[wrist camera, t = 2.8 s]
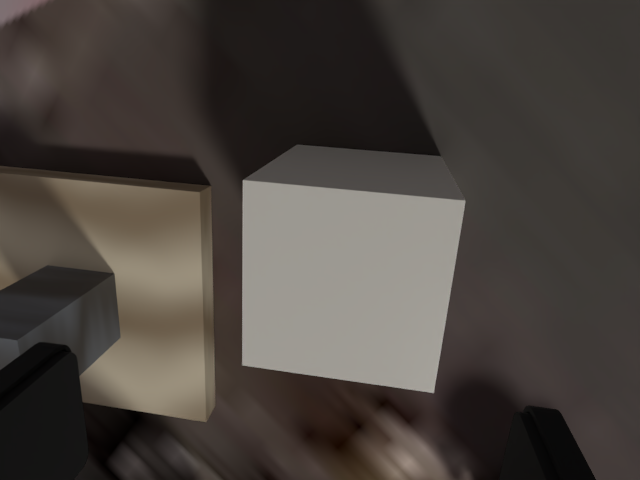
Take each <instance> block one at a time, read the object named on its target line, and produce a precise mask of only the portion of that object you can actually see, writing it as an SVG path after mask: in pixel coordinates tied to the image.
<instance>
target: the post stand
mask: <svg viewBox="0 0 640 480" xmlns="http://www.w3.org/2000/svg"><path fill="white" fill-rule="evenodd" d="M39 342H48V343H55V344H63V345H67V346H69V348H70V349H71V352H72V353H74V354H75V355H76V356H77V361H78V369H79V377H80V385H81V393H82V401H83V402H85V403H91V404H97V405H103V406H110V407H116V408H122V409H128V410H134V411H140V412H147V413H153V414H159V415H165V416H171V417H178V418H184V419H190V420H196V421H202V422H207V420H208V418H209V416H210V414H211V413H212V411H213V409H214V407H215V362H214V312H213V262H212V213H211V186H208V185H197V184H187V183H176V182H165V181H155V180H144V179H134V178H123V177H113V176H102V175H92V174H81V173H70V172H60V171H49V170H39V169H28V168H18V167H7V166H0V370H1V369H2V368H4V367H5V366H6V365H8V364H9V363H11V362H12V361H13V360H15V359H16V358H17V357H19V356H20V355H21V354H23V353H24V352H25V351H27V350H28V349H29V348H31V347H32V346H33V345H35V344H37V343H39Z"/></svg>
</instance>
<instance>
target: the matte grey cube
mask: <svg viewBox="0 0 640 480" xmlns="http://www.w3.org/2000/svg"><path fill="white" fill-rule="evenodd" d="M464 207H465V199H464V197H463V195H462V193H461V191H460V190H459V188H458V186H457V184H456V182H455V180H454V179H453V177H452V175H451V173H450V171H449V170H448V168H447V166H446V164H445V162H444V160H443V159H442V157H441V156H432V155H420V154H408V153H395V152H383V151H371V150H358V149H346V148H334V147H321V146H309V145H296V146H294V147H292V148H291V149H289V150H288V151H286V152H285V153H283V154H282V155H280V156H279V157H277V158H276V159H274V160H273V161H271V162H270V163H268V164H267V165H265V166H264V167H262V168H260V169H259V170H257V171H256V172H254V173H253V174H251V175H250V176H248V177H247V178H245V179H244V180H243V282H242V365H244V366H251V367H258V368H265V369H271V370H278V371H285V372H292V373H299V374H306V375H313V376H320V377H327V378H334V379H341V380H348V381H355V382H362V383H368V384H375V385H382V386H389V387H396V388H403V389H410V390H417V391H424V392H431V393H434V389H435V382H436V376H437V370H438V364H439V358H440V352H441V346H442V340H443V334H444V328H445V322H446V316H447V310H448V304H449V298H450V292H451V286H452V280H453V274H454V268H455V262H456V256H457V249H458V243H459V237H460V231H461V225H462V219H463V213H464Z"/></svg>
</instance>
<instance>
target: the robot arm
mask: <svg viewBox="0 0 640 480" xmlns="http://www.w3.org/2000/svg"><path fill="white" fill-rule="evenodd" d="M87 457H88V442H87V433H86V425H85V417H84V409H83V401H82V393H81V385H80V377H79V369H78V361H77V356H76V355H75V354H74V353H72V352H71V349H70V348H69V346H67V345H63V344H55V343H48V342H39V343H37V344H35V345H33V346H32V347H31V348H29V349H28V350H27V351H25V352H24V353H23V354H21V355H20V356H19V357H17V358H16V359H15V360H13V361H12V362H11V363H9V364H8V365H6V366H5V367H4V368H2V369H1V370H0V480H74V478H75V477H76V476H77V475H78V473H79V472H80V471H81V470H82V468H83V467H84V465H85V463H86V460H87ZM499 480H596V479H595V477H594V475H593V473H592V471H591V469H590V467H589V466H588V464H587V462H586V460H585V458H584V456H583V454H582V452H581V450H580V449H579V447H578V445H577V443H576V441H575V439H574V437H573V435H572V433H571V431H570V430H569V428H568V426H567V424H566V422H565V420H564V418H563V416H562V414H561V413H560V412H559V411H558V410H556V409H549V408H542V407H534V406H526V407H525V409H524V411H523V413H522V412H516V413H515V414H514V417H513V421H512V425H511V429H510V434H509V438H508V442H507V447H506V451H505V455H504V459H503V464H502V468H501V472H500V477H499Z"/></svg>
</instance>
